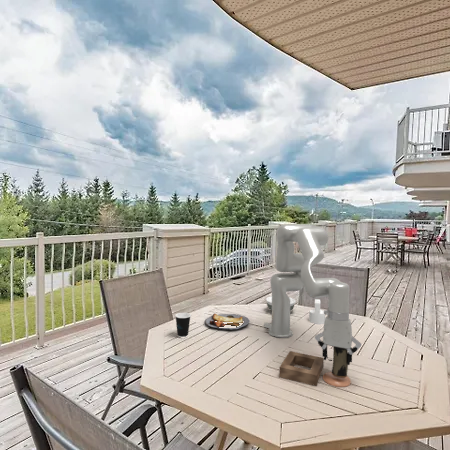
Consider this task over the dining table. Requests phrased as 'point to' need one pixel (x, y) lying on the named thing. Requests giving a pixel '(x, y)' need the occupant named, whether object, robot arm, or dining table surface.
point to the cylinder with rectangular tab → (317, 314)
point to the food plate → (226, 320)
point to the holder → (302, 374)
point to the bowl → (269, 303)
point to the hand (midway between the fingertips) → (336, 360)
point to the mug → (339, 362)
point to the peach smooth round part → (336, 380)
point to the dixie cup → (182, 324)
